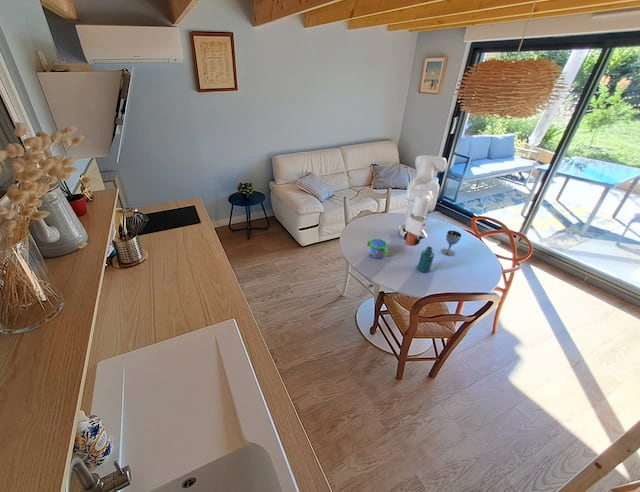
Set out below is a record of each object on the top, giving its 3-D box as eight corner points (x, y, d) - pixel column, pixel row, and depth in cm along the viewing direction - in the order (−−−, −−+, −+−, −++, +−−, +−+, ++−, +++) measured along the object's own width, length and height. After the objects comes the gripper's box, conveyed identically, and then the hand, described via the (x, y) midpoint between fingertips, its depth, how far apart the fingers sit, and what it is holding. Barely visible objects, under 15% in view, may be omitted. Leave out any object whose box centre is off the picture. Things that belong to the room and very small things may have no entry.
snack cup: (362, 251, 195) (364, 239, 190) (374, 247, 199) (376, 235, 194) (378, 264, 182) (380, 251, 177) (390, 259, 186) (393, 246, 181)
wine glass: (456, 256, 189) (463, 237, 181) (443, 255, 190) (449, 236, 183) (452, 249, 195) (458, 231, 188) (439, 248, 197) (445, 230, 189)
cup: (403, 242, 173) (405, 234, 170) (408, 238, 176) (410, 230, 173) (412, 247, 169) (415, 238, 166) (418, 243, 172) (420, 235, 169)
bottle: (415, 268, 178) (421, 247, 170) (421, 264, 182) (427, 243, 174) (425, 274, 173) (432, 252, 166) (431, 269, 177) (438, 248, 169)
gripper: (436, 219, 159) (428, 245, 168) (407, 208, 171) (401, 233, 180) (429, 224, 155) (421, 250, 164) (400, 212, 167) (394, 237, 176)
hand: (411, 241), depth 172 cm, fingers closed on cup, 6 cm apart
